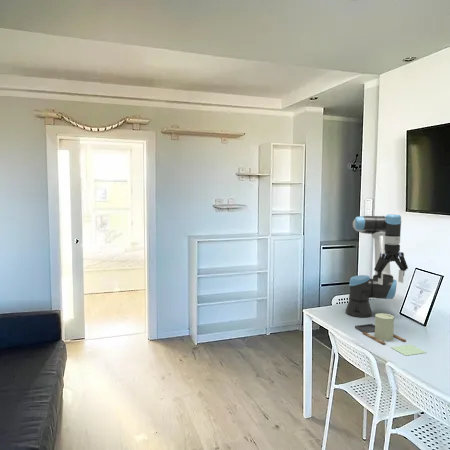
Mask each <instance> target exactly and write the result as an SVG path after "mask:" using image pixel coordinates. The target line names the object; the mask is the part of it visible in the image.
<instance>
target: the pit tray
mask: <svg viewBox="0 0 450 450" xmlns="http://www.w3.org/2000/svg"><path fill="white" fill-rule="evenodd" d="M354 329H355V330H357V331H359V332H361V333H363V332H366V333H368V334H369V333H375V324H373V323H367V324H358V325H354Z"/></svg>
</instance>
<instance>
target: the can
mask: <svg viewBox="0 0 450 450" xmlns="http://www.w3.org/2000/svg"><path fill="white" fill-rule="evenodd" d="M374 317H375V318H374V325H375V332H374V336H373V337H375V338H377V339H379V340H381V341H383V342H389V341H390V342H391V341H393V340H394V337H393V334H394V327H395V316H394V315H392V314H389V313H386V312H385V313H383V312H380V313H375V314H374Z"/></svg>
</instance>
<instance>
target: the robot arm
mask: <svg viewBox="0 0 450 450" xmlns="http://www.w3.org/2000/svg"><path fill="white" fill-rule="evenodd" d="M352 229H354V230H355V231H356V232H358V233H361V234H367V235H369V234H370V235H371V237H372V239H374V240H373V243H374V269H373V270H374V272H375V274H373V276H372V278H371V277H370V275H363V274H361V275H359V274H358V275H354V276H351V277H350V279H349V284H348V286H349V290H348V293H349V294H348V302H347V305H346V307H345V314H346V315H348V316H350V317H351V316H352V317H356V318H368V317H369V318H370V317H372V314H373V313H372V308H371V304H370V299H383V300H392V299H394V298H395V296H396V292H397V283H401V284H403V283H404V277H405V272H406V271H407V270H408V269H409V266H408V264H407V262H406V258H405V253H404V252H401V245H400V243H401V231H402V230H401V229H402V216H401V215H400V214H386V215H364V216H363V215H362V216H356V217H355V219H353V221H352ZM391 262H392V263H393V262H395V264H396V265H397V267H398V268H399V270H398V278H397V279H394V275H392V274H391ZM397 280H398V282H397Z"/></svg>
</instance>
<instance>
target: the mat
mask: <svg viewBox="0 0 450 450" xmlns="http://www.w3.org/2000/svg"><path fill="white" fill-rule="evenodd" d="M390 348H391V349H392V350H394V351H396V352H398V353H399V354H400V355H401V354H402V355H403V356H405V357H407V356H414V355H420V354H421V355H422V354H427V353H428V352H427V351H425V350H423V349H420V348H419V347H416V346H415V345H413V344H405V345H404V344H403V345H398V346H397V345H396V346H391V347H390Z"/></svg>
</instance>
